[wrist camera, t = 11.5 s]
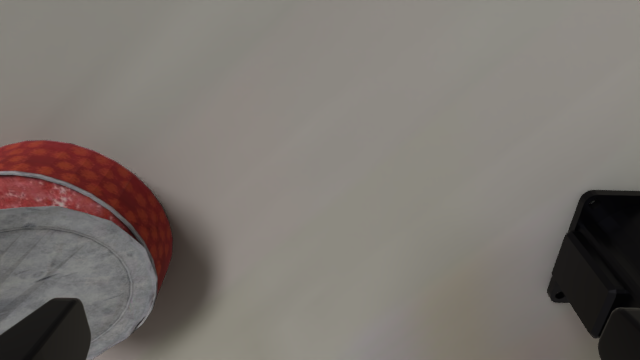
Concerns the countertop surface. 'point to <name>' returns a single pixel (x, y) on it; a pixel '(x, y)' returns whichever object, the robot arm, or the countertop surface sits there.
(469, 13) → the countertop surface
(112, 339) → the canned food
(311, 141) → the countertop surface
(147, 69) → the countertop surface
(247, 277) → the countertop surface
